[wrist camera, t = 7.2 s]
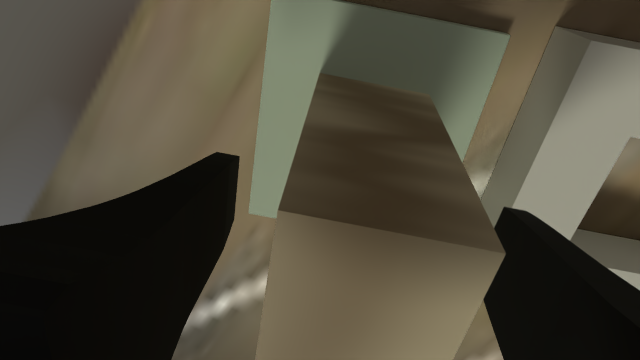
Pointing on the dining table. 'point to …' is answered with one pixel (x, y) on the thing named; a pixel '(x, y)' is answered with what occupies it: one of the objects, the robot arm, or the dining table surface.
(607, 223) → the dining table surface
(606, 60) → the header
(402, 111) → the plug
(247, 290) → the dining table surface
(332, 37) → the mat
